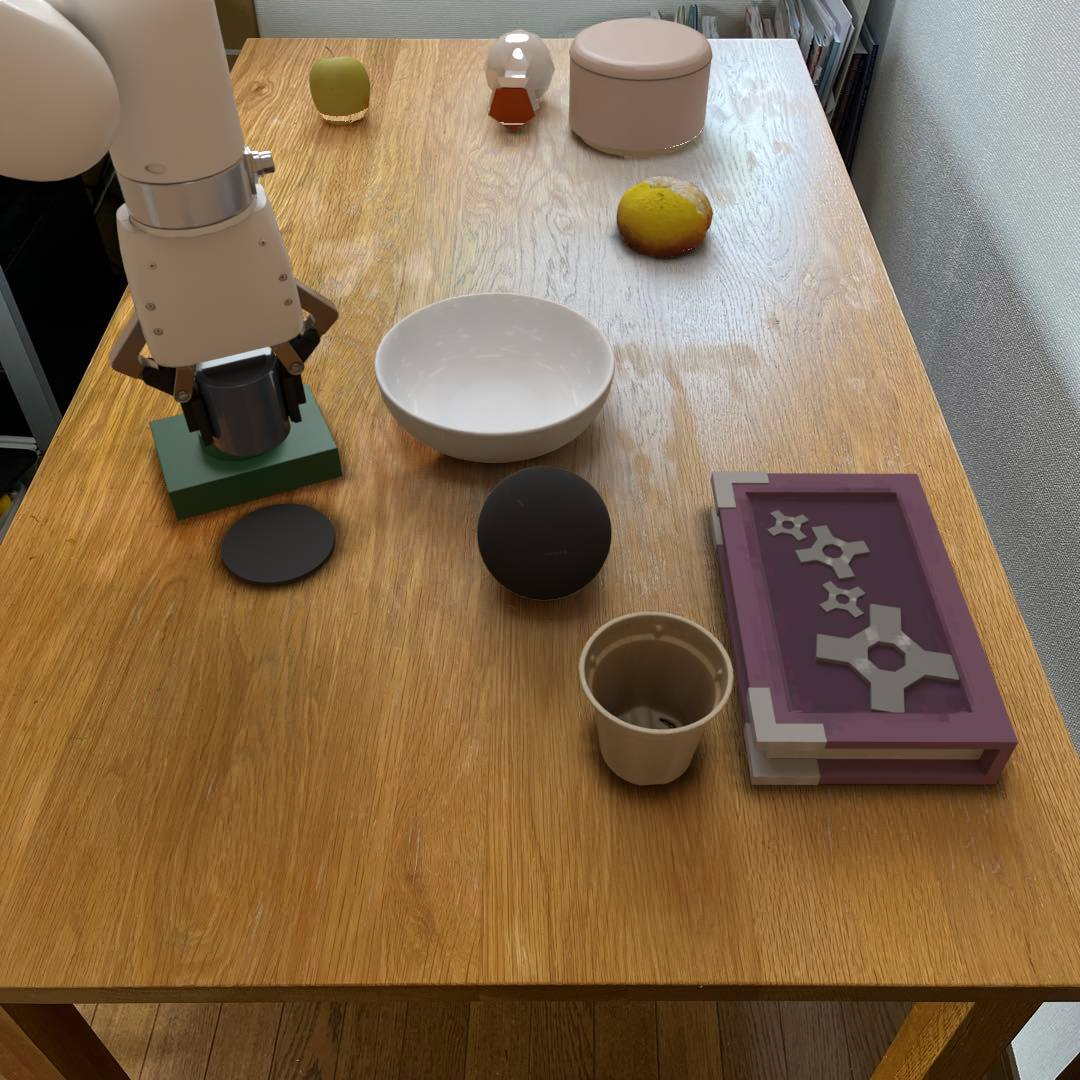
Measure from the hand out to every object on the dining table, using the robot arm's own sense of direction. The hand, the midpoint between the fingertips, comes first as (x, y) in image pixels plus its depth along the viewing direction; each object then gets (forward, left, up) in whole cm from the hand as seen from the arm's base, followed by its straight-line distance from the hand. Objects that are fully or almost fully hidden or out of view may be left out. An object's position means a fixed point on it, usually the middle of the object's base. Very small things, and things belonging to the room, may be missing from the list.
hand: (249, 421), depth 75 cm
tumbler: (0, 0, -1) cm, 1 cm away
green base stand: (0, +11, -13) cm, 17 cm away
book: (+35, -26, -13) cm, 45 cm away
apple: (+27, +77, -13) cm, 83 cm away
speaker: (+18, -12, -13) cm, 25 cm away
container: (+62, +57, -13) cm, 85 cm away
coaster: (0, 0, -13) cm, 13 cm away
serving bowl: (+22, +8, -13) cm, 27 cm away
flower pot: (+18, -29, -13) cm, 36 cm away
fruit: (+52, +31, -13) cm, 62 cm away
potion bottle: (+50, +70, -13) cm, 87 cm away
